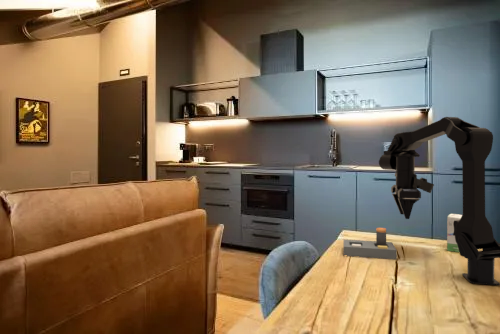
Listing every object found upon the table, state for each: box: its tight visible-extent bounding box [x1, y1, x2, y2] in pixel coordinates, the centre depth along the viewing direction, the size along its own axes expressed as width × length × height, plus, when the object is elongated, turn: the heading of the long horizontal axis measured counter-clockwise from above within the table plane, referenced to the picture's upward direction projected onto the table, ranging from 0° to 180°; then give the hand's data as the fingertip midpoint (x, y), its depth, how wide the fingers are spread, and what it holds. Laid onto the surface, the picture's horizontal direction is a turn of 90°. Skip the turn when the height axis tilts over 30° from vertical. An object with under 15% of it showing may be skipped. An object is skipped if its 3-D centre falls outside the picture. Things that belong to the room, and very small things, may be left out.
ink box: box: [446, 213, 463, 253], centre depth 116 cm, size 8×5×12 cm, turn 143°
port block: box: [343, 239, 398, 260], centre depth 111 cm, size 10×16×4 cm, turn 75°
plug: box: [375, 227, 387, 247], centre depth 110 cm, size 3×3×8 cm
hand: (404, 216), depth 113 cm, fingers open, 9 cm apart
